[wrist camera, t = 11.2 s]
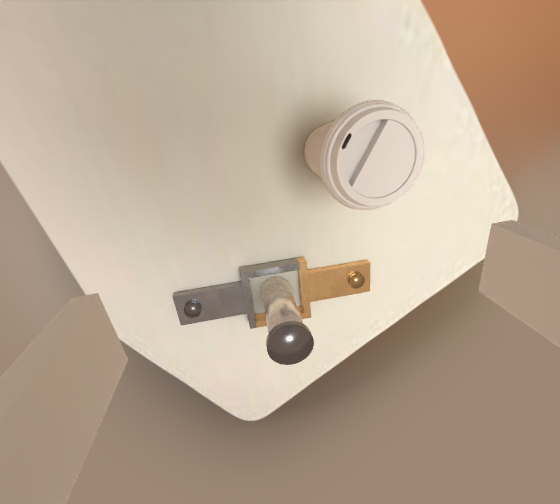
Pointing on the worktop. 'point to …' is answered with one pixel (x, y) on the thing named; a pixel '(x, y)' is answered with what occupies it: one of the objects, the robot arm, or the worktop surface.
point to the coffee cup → (367, 154)
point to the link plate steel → (227, 295)
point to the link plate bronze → (327, 284)
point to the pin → (284, 324)
